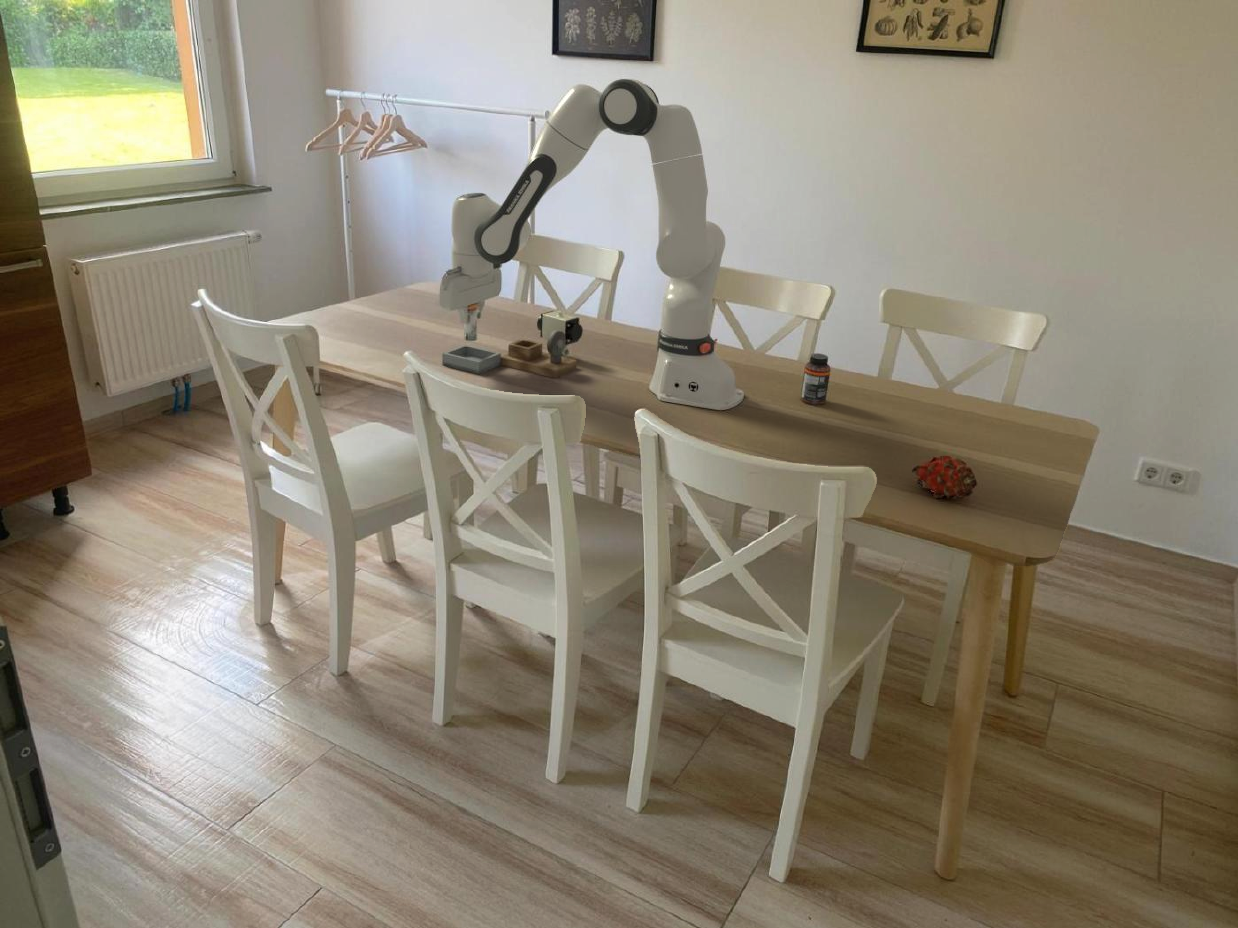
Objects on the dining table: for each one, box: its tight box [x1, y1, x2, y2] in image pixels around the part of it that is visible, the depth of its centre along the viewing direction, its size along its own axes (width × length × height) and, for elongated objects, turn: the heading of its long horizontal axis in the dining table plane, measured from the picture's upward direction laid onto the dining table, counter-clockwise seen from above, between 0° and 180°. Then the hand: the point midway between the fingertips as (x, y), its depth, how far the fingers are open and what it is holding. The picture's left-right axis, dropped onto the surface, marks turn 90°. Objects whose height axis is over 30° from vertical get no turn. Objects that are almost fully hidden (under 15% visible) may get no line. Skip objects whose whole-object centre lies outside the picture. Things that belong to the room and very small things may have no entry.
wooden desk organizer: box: [500, 330, 578, 379], centre depth 223 cm, size 16×10×10 cm, turn 62°
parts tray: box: [441, 344, 502, 375], centre depth 223 cm, size 11×9×3 cm
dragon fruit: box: [911, 454, 978, 500], centre depth 170 cm, size 8×8×12 cm
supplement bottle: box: [800, 353, 831, 406], centre depth 212 cm, size 6×6×11 cm
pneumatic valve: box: [536, 310, 583, 358], centre depth 231 cm, size 6×12×12 cm, turn 53°
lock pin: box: [463, 303, 478, 342], centre depth 219 cm, size 3×3×9 cm
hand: (471, 320), depth 219 cm, fingers closed on lock pin, 3 cm apart
